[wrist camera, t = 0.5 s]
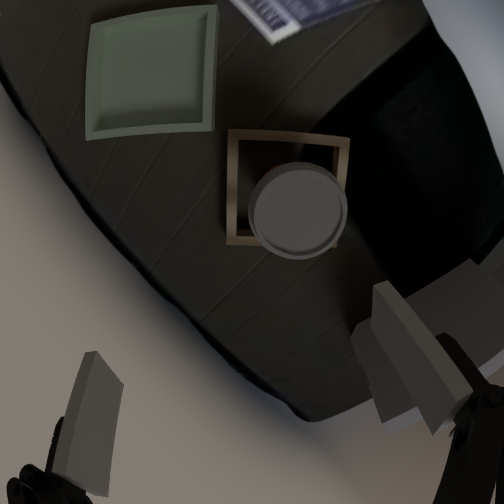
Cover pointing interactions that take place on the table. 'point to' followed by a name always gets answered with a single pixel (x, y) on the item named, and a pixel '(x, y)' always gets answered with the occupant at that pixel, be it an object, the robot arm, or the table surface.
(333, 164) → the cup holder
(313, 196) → the disposable coffee cup
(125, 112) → the tray
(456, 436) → the robot arm
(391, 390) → the game console
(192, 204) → the table surface
